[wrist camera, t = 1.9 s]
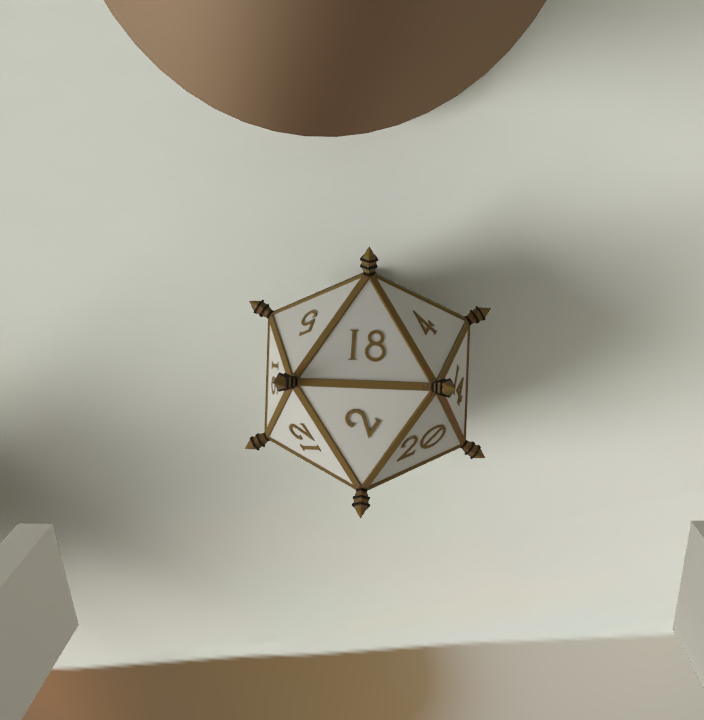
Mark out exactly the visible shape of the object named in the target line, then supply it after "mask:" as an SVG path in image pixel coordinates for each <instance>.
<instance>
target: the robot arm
mask: <svg viewBox="0 0 704 720" xmlns="http://www.w3.org/2000/svg"><path fill="white" fill-rule="evenodd" d="M78 625H79V624H78V620H77V617H76V613H75V609H74V605H73V601H72V597H71V594H70V590H69V586H68V582H67V578H66V574H65V571H64V567H63V563H62V559H61V555H60V551H59V547H58V544H57V540H56V536H55V532H54V528H53V524H17V525H16V526H15V527H14V528H13V530H12V531H11V532H10V533H9V534H8V535H7V536H6V537H5V539H4V540H3V541H2V542H1V543H0V720H21V719H22V717H23V716H24V714H25V712H26V710H27V709H28V707H29V706H30V704H31V702H32V701H33V699H34V697H35V696H36V694H37V692H38V691H39V689H40V688H41V686H42V684H43V682H44V681H45V679H46V678H47V676H48V674H49V673H50V671H51V669H52V668H53V666H54V664H55V663H56V661H57V659H58V658H59V656H60V655H61V653H62V651H63V650H64V648H65V646H66V645H67V643H68V641H69V640H70V638H71V636H72V635H73V633H74V631H75V630H76V628H77V626H78ZM673 631H674V633H675V635H676V636H677V638H678V640H679V642H680V644H681V646H682V648H683V649H684V651H685V653H686V655H687V657H688V659H689V661H690V663H691V664H692V666H693V668H694V670H695V672H696V674H697V676H698V678H699V680H700V682H701V683H702V685H703V687H704V521H691V525H690V531H689V537H688V543H687V549H686V554H685V560H684V566H683V572H682V578H681V583H680V589H679V595H678V601H677V607H676V612H675V618H674V624H673Z"/></svg>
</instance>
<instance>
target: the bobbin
mask: <svg viewBox="0 0 704 720" xmlns="http://www.w3.org/2000/svg"><path fill="white" fill-rule="evenodd" d="M104 1H105V3H106V4H107V6H108V8H109V9H110V11H111V13H112V14H113V16H114V17H115V18H116V20H117V21H118V22H119V24H120V25H121V26H122V27H123V29H124V30H125V31H126V33H127V34H128V35H129V37H130V38H131V39H132V40H133V42H134V43H135V44H136V45H137V46H138V47H139V48H140V49H141V51H142V52H143V53H144V54H145V55H146V56H147V57H148V58H149V59H150V60H151V61H152V62H153V63H154V64H155V65H156V66H157V67H158V68H159V69H160V70H161V71H162V72H164V73H165V74H166V75H167V76H169V77H170V78H171V79H172V80H174V81H175V82H176V83H177V84H178V85H180V86H181V87H182V88H183V89H185V90H186V91H187V92H189V93H190V94H192V95H194V96H195V97H197V98H198V99H200V100H202V101H203V102H205V103H207V104H208V105H210V106H211V107H213V108H215V109H217V110H219V111H221V112H223V113H225V114H228V115H230V116H232V117H234V118H236V119H239V120H241V121H243V122H246V123H249V124H252V125H256V126H259V127H262V128H266V129H269V130H272V131H276V132H283V133H289V134H295V135H301V136H326V137H338V136H346V135H355V134H363V133H369V132H373V131H377V130H381V129H384V128H388V127H392V126H396V125H399V124H401V123H404V122H406V121H409V120H411V119H413V118H416V117H418V116H421V115H423V114H426V113H428V112H430V111H431V110H433V109H435V108H437V107H438V106H440V105H442V104H444V103H445V102H447V101H449V100H450V99H452V98H454V97H456V96H457V95H458V94H460V93H461V92H462V91H464V90H465V89H466V88H468V87H469V86H470V85H472V84H473V83H474V82H476V81H477V80H478V79H480V78H481V77H482V76H483V75H485V74H486V73H487V72H488V71H489V70H490V69H491V68H492V67H493V66H494V65H495V64H496V63H497V62H498V61H499V60H500V59H501V58H502V57H503V56H504V55H505V54H506V53H507V52H508V51H509V50H510V49H511V48H512V47H513V45H514V44H515V43H516V42H517V40H518V39H519V38H520V37H521V35H522V34H523V33H524V32H525V30H526V29H527V28H528V27H529V25H530V24H531V23H532V22H533V20H534V19H535V17H536V16H537V14H538V12H539V11H540V9H541V8H542V6H543V5H544V3H545V1H546V0H104Z"/></svg>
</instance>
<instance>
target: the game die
mask: <svg viewBox="0 0 704 720" xmlns="http://www.w3.org/2000/svg"><path fill="white" fill-rule="evenodd" d="M360 260H361V261H362V264H361V265H360V267H362V269H363V273H361V274H359V275H356V276H354V277H352V278H350V279H347V280H345V281H343V282H340V283H338V284H336V285H333V286H331V287H329V288H326V289H324V290H322V291H319V292H317V293H315V294H312V295H310V296H308V297H306V298H303V299H301V300H299V301H296V302H294V303H292V304H289V305H287V306H285V307H282V308H280V309H278V310H275V311H273V310H271V308H270V307H269V304H265V303H264V300H262V301H250V304H251V306H252V308H253V310H254V313H256V314H257V313H258V314H259V316H260V317H263V316H264V317H267V318H268V343H267V375H266V407H265V432H264V433H262V434H259V433H258V434H256V436H255V437H253V436H252V437H251V438H250V441H249V442H248V444H247V446H246V448H245V449H257V450H258V451H259V448H261V447H262V446H263V447H265V444H266V443H267V441H272V442H274V443H276V444H277V445H279V446H281V447H282V448H284V449H286V450H288V451H289V452H291V453H293V454H295V455H296V456H298V457H300V458H302V459H303V460H305V461H307V462H309V463H310V464H312V465H314V466H316V467H317V468H319V469H321V470H322V471H324V472H326V473H328V474H329V475H331V476H333V477H335V478H336V479H338V480H340V481H342V482H343V483H345V484H347V485H349V486H350V487H352V488H354V489H356V494H355V496H353V499H354V503H353V504H352V506H353V507H354V508H355V509H356V511H357V513H358V515H359V517H360V518H361V517H362V515H363V514H364V512H365V511H366V509H367V508H368V507H370V504H368V500H369V499H370V497H368V495H367V491H368V490H370V489H372V488H374V487H376V486H378V485H380V484H383V483H385V482H387V481H389V480H391V479H393V478H396V477H398V476H400V475H402V474H404V473H406V472H408V471H411V470H413V469H415V468H417V467H419V466H421V465H424V464H426V463H428V462H430V461H432V460H434V459H436V458H439V457H441V456H443V455H445V454H447V453H449V452H451V451H454V450H456V449H458V448H462V449H463V450H464V451H465V455H467V454H468V455H469V456H470V458H471V459H472V458H485V457H484V455H483V453H482V451H481V449H480V448H481V447H480V446H479V445H475V443H474V442H473V441H472V442H469V441H467V440H466V420H467V393H468V366H469V339H470V325H471V324H472V323H476V324H477V323H479V321H481V320H485V317H486V315H487V314H488V312H489V310H490V308H479V307H477V306H476V309H474V310H473V311H472V310H470V313H469V314H468V315H467V316H465V317H464V316H462V315H460V314H458V313H456V312H454V311H452V310H450V309H448V308H446V307H444V306H442V305H439V304H437V303H435V302H433V301H431V300H429V299H427V298H425V297H423V296H421V295H419V294H417V293H415V292H413V291H411V290H409V289H407V288H405V287H402V286H400V285H398V284H396V283H394V282H392V281H390V280H388V279H386V278H384V277H382V276H380V275H378V274H377V273H376V272H374V271H375V268H377V264H376V261H378V258H377V257H376V255H374V254H373V252H372V250H371V248H370V247H369V248H368V249H367V251H366V252H365V254H364V255H363V256H362V257H361V258H360Z"/></svg>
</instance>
